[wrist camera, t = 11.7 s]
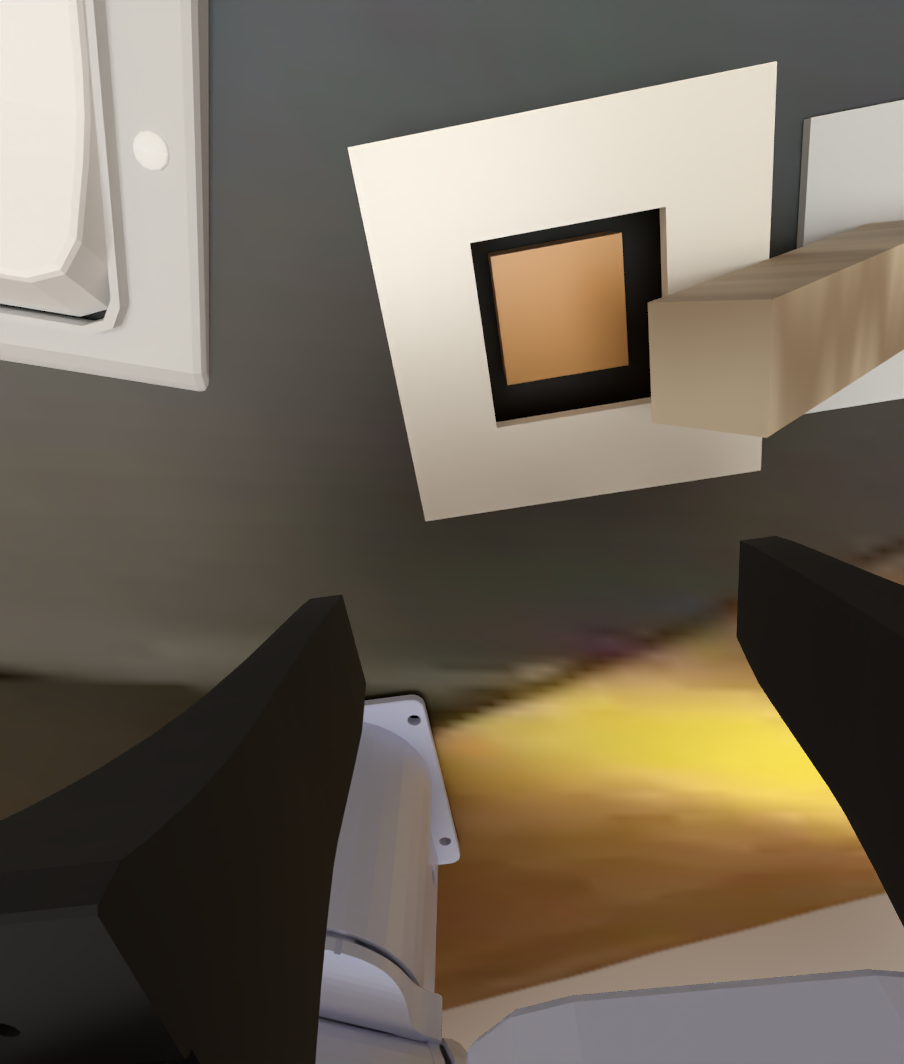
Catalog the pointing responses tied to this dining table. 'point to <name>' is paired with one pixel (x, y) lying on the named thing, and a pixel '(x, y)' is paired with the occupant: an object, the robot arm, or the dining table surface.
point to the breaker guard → (541, 203)
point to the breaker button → (560, 307)
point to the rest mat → (854, 206)
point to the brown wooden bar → (778, 333)
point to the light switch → (106, 187)
